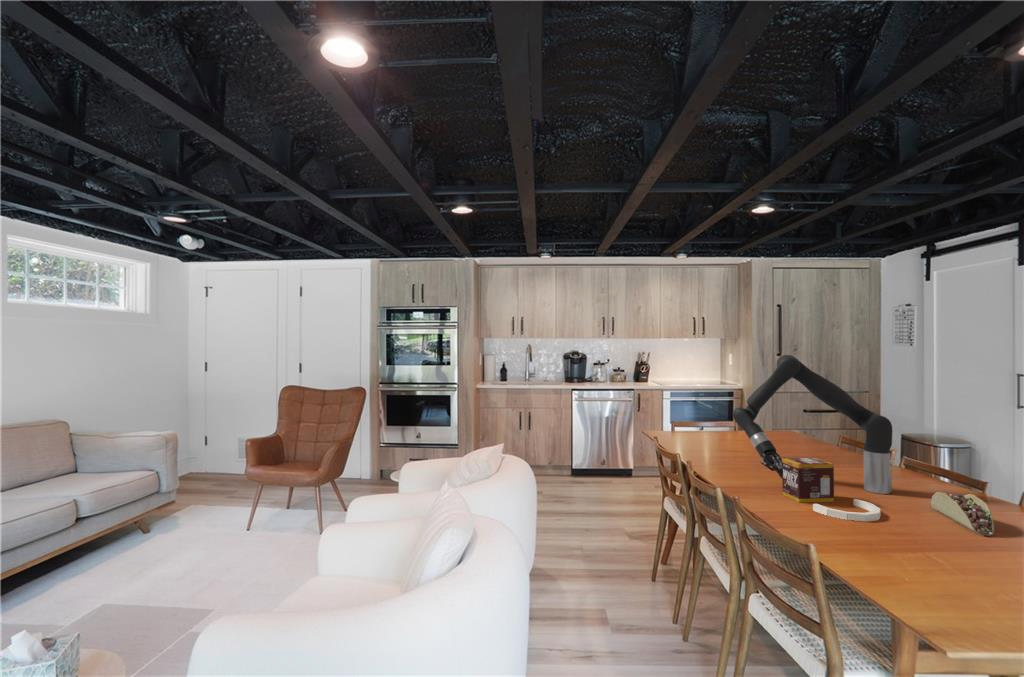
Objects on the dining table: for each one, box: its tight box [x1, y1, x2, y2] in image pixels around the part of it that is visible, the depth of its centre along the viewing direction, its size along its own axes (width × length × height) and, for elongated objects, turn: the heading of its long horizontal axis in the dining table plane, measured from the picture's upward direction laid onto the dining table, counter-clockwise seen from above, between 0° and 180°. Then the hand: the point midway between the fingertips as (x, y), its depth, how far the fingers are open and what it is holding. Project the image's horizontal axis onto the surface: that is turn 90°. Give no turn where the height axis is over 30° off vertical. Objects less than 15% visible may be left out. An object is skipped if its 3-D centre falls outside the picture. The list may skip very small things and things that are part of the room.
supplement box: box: [781, 457, 835, 503], centre depth 194 cm, size 10×15×16 cm
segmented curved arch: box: [812, 498, 882, 523], centre depth 175 cm, size 23×14×2 cm, turn 107°
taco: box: [930, 491, 995, 537], centre depth 167 cm, size 10×27×10 cm, turn 164°
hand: (785, 478), depth 204 cm, fingers closed
